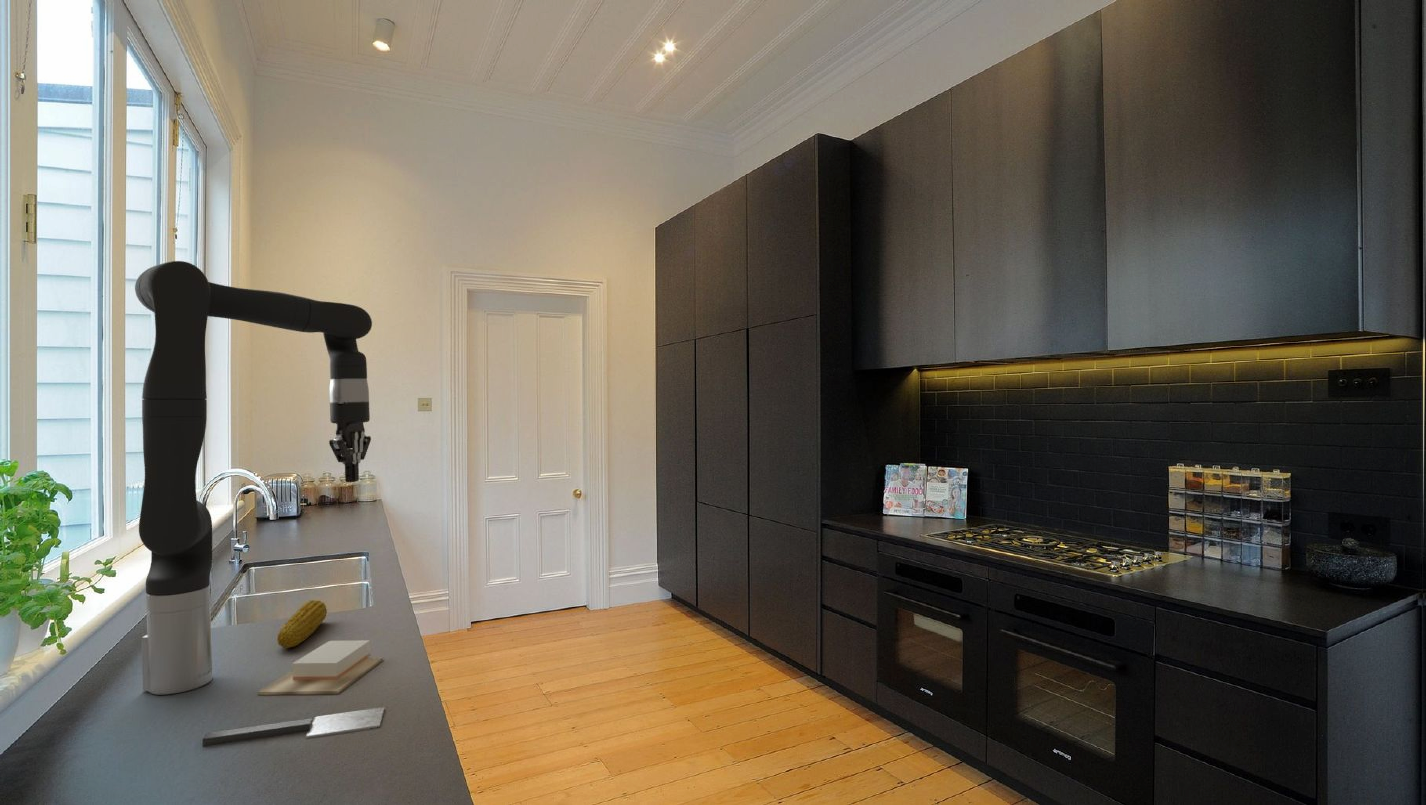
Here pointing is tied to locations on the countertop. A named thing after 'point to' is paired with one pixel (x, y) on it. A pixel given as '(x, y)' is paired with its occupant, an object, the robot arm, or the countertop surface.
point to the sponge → (331, 660)
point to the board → (318, 682)
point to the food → (302, 624)
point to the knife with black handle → (302, 727)
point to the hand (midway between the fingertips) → (352, 481)
